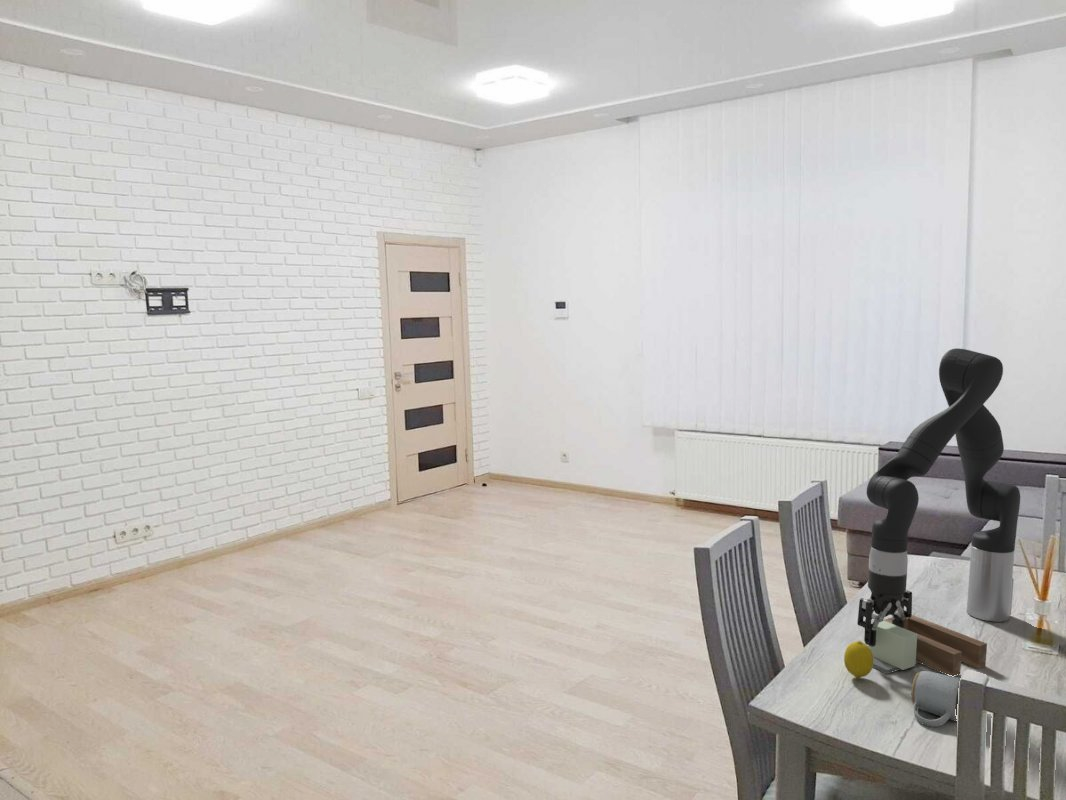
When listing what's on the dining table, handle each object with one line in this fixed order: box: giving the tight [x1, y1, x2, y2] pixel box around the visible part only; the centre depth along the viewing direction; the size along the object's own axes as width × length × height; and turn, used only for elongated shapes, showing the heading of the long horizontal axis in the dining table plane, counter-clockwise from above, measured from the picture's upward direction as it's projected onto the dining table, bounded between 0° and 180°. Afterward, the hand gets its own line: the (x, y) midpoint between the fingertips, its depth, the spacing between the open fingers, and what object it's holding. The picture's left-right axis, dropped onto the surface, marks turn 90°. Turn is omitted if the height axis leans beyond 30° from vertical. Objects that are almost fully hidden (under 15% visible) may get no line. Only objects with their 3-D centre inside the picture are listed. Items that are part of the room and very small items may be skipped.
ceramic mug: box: [910, 670, 961, 727], centre depth 150 cm, size 11×8×8 cm
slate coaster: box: [867, 645, 919, 674], centre depth 174 cm, size 10×10×1 cm
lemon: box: [843, 640, 874, 679], centre depth 165 cm, size 6×6×8 cm
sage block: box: [871, 621, 917, 671], centre depth 172 cm, size 4×8×7 cm, turn 28°
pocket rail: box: [883, 614, 988, 676], centre depth 177 cm, size 11×19×5 cm, turn 28°
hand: (883, 641), depth 174 cm, fingers open, 8 cm apart
